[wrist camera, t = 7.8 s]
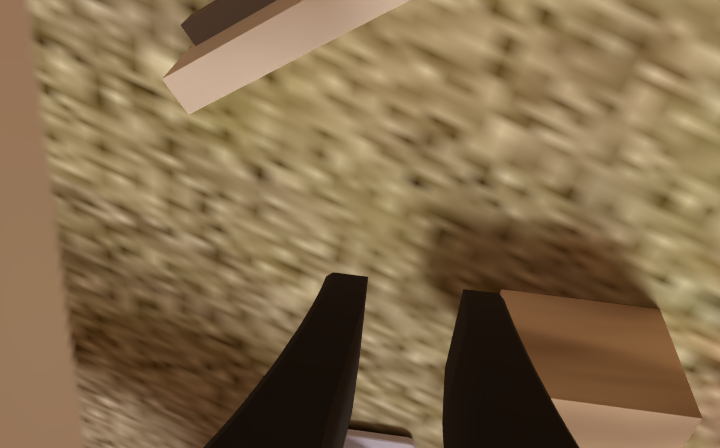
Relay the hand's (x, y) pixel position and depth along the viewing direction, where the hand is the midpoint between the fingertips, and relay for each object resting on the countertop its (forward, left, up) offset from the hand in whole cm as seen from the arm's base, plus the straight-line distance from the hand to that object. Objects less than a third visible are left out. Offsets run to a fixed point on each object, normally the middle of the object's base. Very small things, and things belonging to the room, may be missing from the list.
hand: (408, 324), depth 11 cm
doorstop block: (-10, -7, -10) cm, 16 cm away
